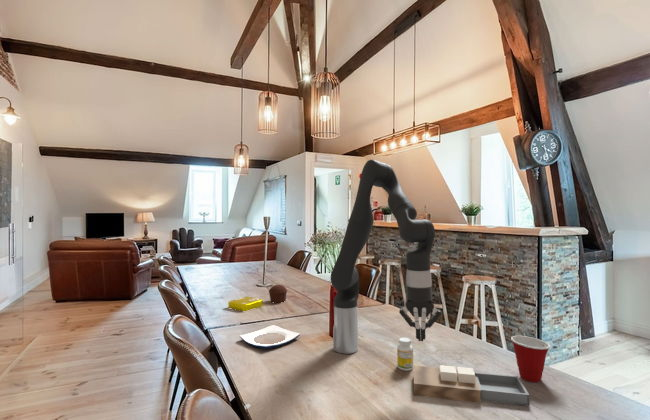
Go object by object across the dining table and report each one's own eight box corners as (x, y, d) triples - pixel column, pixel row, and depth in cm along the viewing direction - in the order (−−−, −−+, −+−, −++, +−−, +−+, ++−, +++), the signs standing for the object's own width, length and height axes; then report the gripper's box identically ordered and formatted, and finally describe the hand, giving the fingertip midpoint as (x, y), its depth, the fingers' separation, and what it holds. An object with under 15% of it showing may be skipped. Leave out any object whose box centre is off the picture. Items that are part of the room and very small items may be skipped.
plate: (303, 339, 147) (303, 333, 147) (265, 354, 132) (265, 347, 132) (273, 329, 161) (273, 323, 161) (236, 341, 146) (236, 335, 146)
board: (414, 395, 100) (413, 383, 100) (414, 376, 111) (414, 365, 111) (480, 403, 95) (480, 390, 95) (473, 382, 107) (473, 371, 107)
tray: (481, 400, 96) (481, 389, 96) (474, 381, 107) (474, 372, 107) (529, 405, 93) (529, 394, 93) (518, 386, 104) (517, 376, 104)
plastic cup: (560, 385, 104) (559, 345, 104) (526, 387, 103) (525, 347, 103) (535, 369, 115) (534, 333, 115) (504, 371, 114) (503, 335, 114)
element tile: (246, 303, 210) (246, 295, 210) (264, 306, 201) (264, 298, 201) (227, 309, 198) (226, 300, 198) (244, 313, 189) (244, 304, 189)
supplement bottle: (409, 372, 114) (408, 343, 114) (394, 368, 118) (394, 340, 118) (416, 366, 118) (415, 339, 118) (402, 362, 122) (401, 335, 122)
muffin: (265, 301, 211) (264, 285, 212) (279, 298, 219) (279, 282, 219) (276, 305, 203) (275, 288, 203) (291, 301, 210) (290, 285, 210)
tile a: (440, 380, 101) (440, 371, 101) (439, 373, 106) (439, 365, 106) (456, 381, 100) (456, 373, 100) (455, 374, 105) (455, 366, 105)
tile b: (458, 382, 100) (458, 373, 100) (457, 374, 104) (456, 366, 104) (475, 383, 99) (475, 375, 99) (472, 376, 103) (472, 368, 103)
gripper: (440, 282, 108) (442, 337, 107) (397, 281, 111) (399, 334, 111) (442, 287, 100) (444, 346, 100) (396, 286, 104) (398, 343, 103)
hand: (420, 340), depth 105 cm, fingers closed
